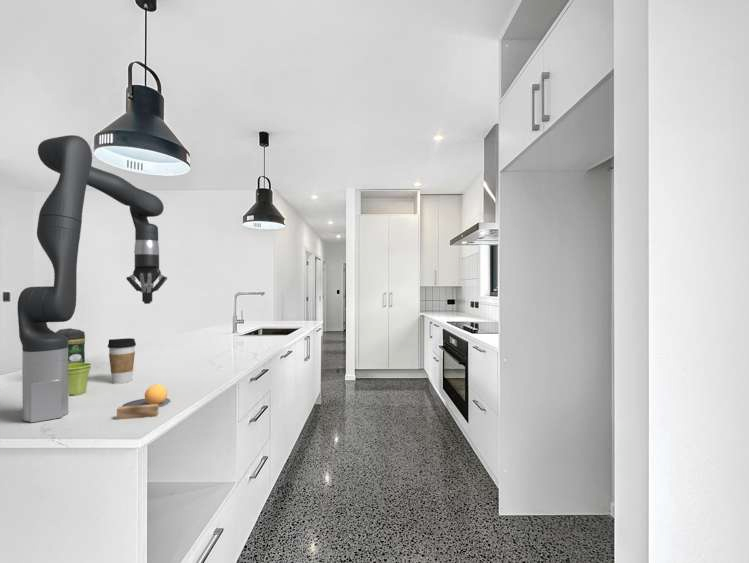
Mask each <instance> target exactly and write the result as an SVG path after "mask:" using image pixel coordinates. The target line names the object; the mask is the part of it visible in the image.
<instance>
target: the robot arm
mask: <svg viewBox="0 0 749 563" xmlns="http://www.w3.org/2000/svg"><path fill="white" fill-rule="evenodd" d="M37 154H38V157H39V159H40V161H41V162H42V164H43V165H44V166H45V167H47V168H48V169H49V170H52V171H54V172H55V173H57V174H59V177H58V180H57V182H56V184H55V186H54V188H53V190H52V191H51V192H50V193H49V195H48V196H47V197H46V199H45V201H44V203H43V204H42V206H41V208H40V210H39V214H38V219H37V225H36V226H37V228H36V237H37V241H38V242H39V244H40V246H41V248H42V249H43V251H44V253H45V254H46V257H47V258H49V261H50V262H51V265H52V268H53V272H54V274H53V277H54V278H53V285H51V286H29V287H26V288H24V289H23V290H22V291H20V294H19V296H18V300H17V308H16V309H17V317H18V318H17V321H18V336H19V341H20V343H21V346H22V347H21V349H22V355H21V356H22V357H21V358H22V361H21V362H22V366H21V367H22V368H21V369H22V373H21V374H22V376H21V377H22V382H21V383H22V420H23V421H24V422H30V423H36V422H37V423H38V422H43V421H47V420H54V419H59V418H60V419H61V418H63V416H66V415H68V414H69V410H70V409H69V396H68V338H67V337H66V336H64V335H61V334H58V333H56V331H54V330H52V329H50V328H49V327H48V323H65V322H68V321H70V320H71V319H72V317H73V316H74V314H75V311H76V306H77V280H78V279H77V278H78V276H77V273H78V272H77V267H78V266H77V265H78V254H79V245H80V239H81V231H82V223H83V222H82V220H83V210H84V204H85V195H86V188H87V186H88V187H91V188H93V189H96V190H98V192H99V191H100V192H102V193H103V194H105V195H107V196H109V197H110V198H112V199H113V200H115V201H117V202H118V203H120V204H122V205H124V206H128V207H129V213H130V217H131V219H132V223H133V226H134V229H135V233H134V236H135V238H134V239H135V240H134V251H133V253H134V269H133V272H132V274H131V275H129V276H126V281H127V282H128V283H129V284H130V285H131V286H132V287H133V289H134V290H135V291H136V292H140V293H141V294H142V296H141V297H142V300H141V301H142V303H144V305H145V304H151V303H152V302H153V293H154V292H157V291H159V289H160V288H161V287H162V286H163V285H164V284H165V282H166V281H167V280H168V277H167V276H165V275H163V274H162V272H161V270H160V246H159V245H160V244H159V227H158V226H157V225H156V224H154V223H151V222H149V219H148V218H150V217H152V218H153V217H159V216H160V215H162V213H163V212H164V204H163V201H162V200H161V199H160V198H159V197H158V196H157V195H154V194H153V193H151V192H148V191H146V190H144V189H140V188H138V187H137V186H135V185H133V184H132V183H131V182H130V181H127V180H126V179H124V178H123V177H120V176H119V175H117V174H114V173H112V172H110V171H106V170H103V169H100V168H97V167H94V166H92V164H93V152H92V149H91V146H90V144H89V143H88V141H86V140H85V138H83V137H82V136H80V135H74V134H73V135H69V134H68V135H63V136H57V137H50V138H47V139H44V140H42V141H41V142H40V143H39V144H38V147H37ZM136 279H137V280H138V282H139V283H140V285H139V284H138V282H137V281H136ZM157 279H158V282H156V281H157ZM155 282H156V284H154V283H155Z"/></svg>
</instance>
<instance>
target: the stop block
mask: <svg viewBox="0 0 749 563" xmlns="http://www.w3.org/2000/svg"><path fill="white" fill-rule="evenodd" d="M159 409H160V407H159V404H150V405H136V406H123V407H122V406H119V407H117V408H116V420H126V419H128V420H129V419H139V418H153V417H157V416H159Z"/></svg>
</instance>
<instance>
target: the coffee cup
mask: <svg viewBox="0 0 749 563" xmlns="http://www.w3.org/2000/svg"><path fill="white" fill-rule="evenodd" d="M136 346H137V344H136V340H135V338H131V337H130V338H128V337H126V338H115V339H114V338H113V339H110V338H109V339H108V344H107V348H108V349H109V350H108V352H109V353H108V356H109V357H108V358H109V365H110V374H111V383H112V384H113V383H122V384H126V383H125V382H128V383H130V382H129V381H131V382H132V381H133V375H134V374H133V372H134V365H135V355H136V354H135V353H136V352H135V349H136V348H135V347H136Z"/></svg>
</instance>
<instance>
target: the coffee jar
mask: <svg viewBox="0 0 749 563" xmlns="http://www.w3.org/2000/svg"><path fill="white" fill-rule="evenodd" d="M55 333H58V334H61V335H64V336H66V337H67V338H68V364H74V363H86V359H85V357H86V356H85V354H86V352H85V342H86V334H85V331H84V330H81V329H77V328H76V329H75V328H63V329H58V330H57V331H55Z"/></svg>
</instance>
